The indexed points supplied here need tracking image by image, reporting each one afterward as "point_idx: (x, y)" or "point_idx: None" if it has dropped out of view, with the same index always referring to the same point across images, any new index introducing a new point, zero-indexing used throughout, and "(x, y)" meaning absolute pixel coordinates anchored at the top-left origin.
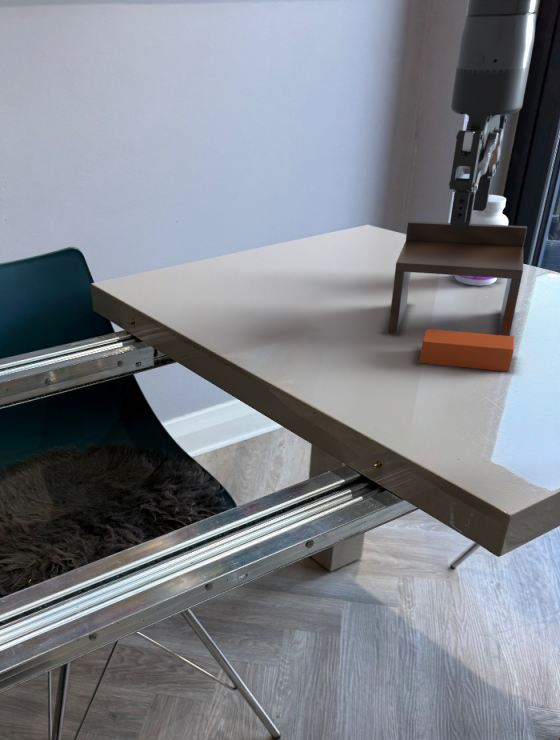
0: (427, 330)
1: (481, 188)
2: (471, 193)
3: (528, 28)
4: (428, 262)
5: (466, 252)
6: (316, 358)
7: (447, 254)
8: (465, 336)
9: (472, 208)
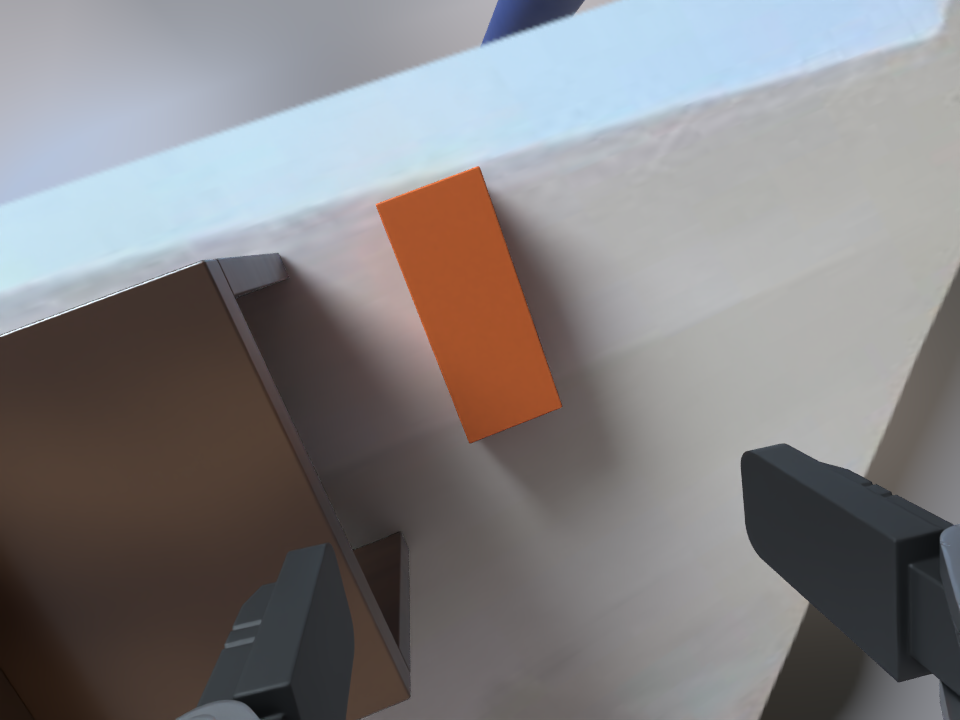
0: (481, 434)
1: (318, 677)
2: (931, 555)
3: None
4: None
5: (107, 561)
6: (652, 594)
7: (189, 606)
8: (462, 325)
9: (830, 484)
